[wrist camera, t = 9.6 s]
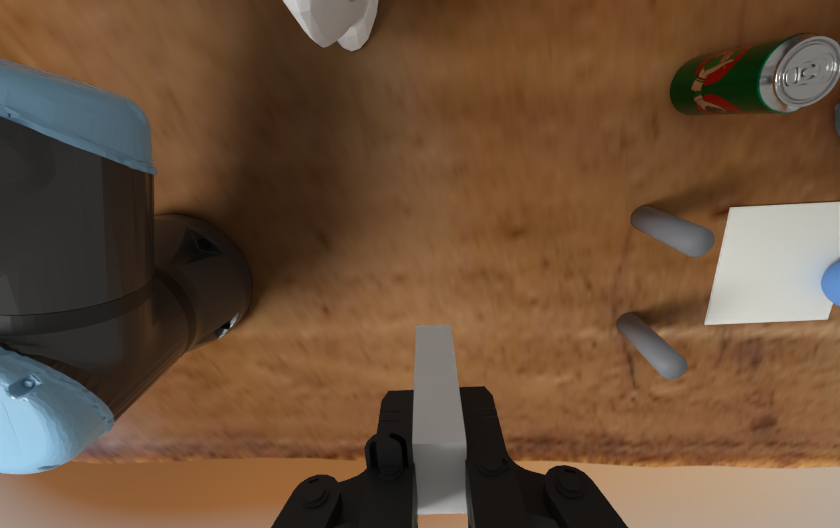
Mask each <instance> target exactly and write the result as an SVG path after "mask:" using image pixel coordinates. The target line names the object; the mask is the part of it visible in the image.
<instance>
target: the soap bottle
mask: <svg viewBox="0 0 840 528" xmlns="http://www.w3.org/2000/svg"><path fill="white" fill-rule="evenodd" d="M378 1H379V0H283V2H284V3H285V4H286V6H287V7H288V9H289V10H290V11H291V13H292V14H293V16H294V17H295V19H296V20H297V21H298V23H299V24H300V26H301V27H302V28H303V30H304V31H305V32H306V33H307V35H308V36H309V37H310V38H311V39H312V40H313V41H315V42H316V43H317V44H318V45H320V46H321V47H323V48H325V47H328V46H330V45H331V44H333V43H334V42H336V41H338V43H339V44H340V45H341V46H342V48H345V49H347V50H349V51H354V50H357V49H360V48H361V47H362V46H363V45H364V43H365V42H366V41H367V40H368V38H369V35H370V32H371V29H372V26H373V24H374V21H375V18H376V15H377V8H378Z"/></svg>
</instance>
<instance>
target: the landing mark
mask: <svg viewBox="0 0 840 528" xmlns="http://www.w3.org/2000/svg"><path fill="white" fill-rule="evenodd" d="M838 262H840V201H839V202H820V203H801V204H782V205H763V206H744V207H730V210H729V214H728V219H727V224H726V228H725V233H724V237H723V242H722V246H721V251H720V255H719V260H718V264H717V269H716V273H715V278H714V282H713V287H712V291H711V296H710V300H709V305H708V309H707V314H706V318H705V323H704V324H705V325H713V324H736V323H758V322H781V321H804V320H826V319H828V317H829V314H830V311H831V308H832V305H833V302H831V301H830V300H829V299H828V298H827V297H826V296H825V294H824V293H823V291H822V287H821V280H822V277H823V275H824V273H825V272H826V270H827V269H829V268H830V267H831V266H832V265H834V264H836V263H838Z"/></svg>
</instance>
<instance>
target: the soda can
mask: <svg viewBox="0 0 840 528" xmlns="http://www.w3.org/2000/svg"><path fill="white" fill-rule="evenodd" d="M839 78H840V45H839V44H838V43H837V42H836V41H835V40H833V39H832V38H829V37H825V36H820V35H818V34H814V33H801V34H796V35H792V36H787V37H783V38H778V39H774V40H770V41H765V42H761V43H757V44H752V45H748V46H744V47H739V48H735V49H731V50H726V51H722V52H718V53H713V54H709V55H705V56H700V57H696V58H694V59H691V60H690V61H688V62H686V63H685V64H684V65H683V66H682V67H681V68H680V69H679V70H678V71H677V73H676V74H675V76H674V78H673V80H672V83H671V87H670V98H671V102H672V104H673V106H674V107H675V108H676V109H677V110H678V111H679V112H681V113H683V114H686V115H717V114H770V113H790V112H794V111H797V110H800V109H802V108H804V107H806V106H808V105H811V104H813V103H816V102H818V101H819V100H821V99H822V98H823V97H825V96H826V95H827V94H828V93H829V92H830V91H831V90H832V89H833V87H834V86H835V85H836V83H837V81H838V80H839Z"/></svg>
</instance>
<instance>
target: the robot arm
mask: <svg viewBox="0 0 840 528" xmlns="http://www.w3.org/2000/svg"><path fill="white" fill-rule="evenodd" d="M155 174H157V170H156V167H155V166H154V165H153V159H152V145H151V131H150V123H149V121H148V118H147V116H146V115H145V113H144V112H143V110H142V109H141V108H140V107H139V106H138V105H137V104H136V103H134V102H133V101H131V100H130V99H128V98H126V97H124V96H122V95H119V94H117V93H114V92H111V91H108V90H105V89H102V88H99V87H96V86H93V85H90V84H86V83H83V82H80V81H76V80H73V79H70V78H66V77H63V76H60V75H56V74H53V73H49V72H46V71H42V70H39V69H35V68H32V67H29V66H25V65H22V64H18V63H15V62H11V61H8V60H4V59H1V58H0V473H8V474H31V473H38V472H42V471H46V470H50V469H54V468H56V467H58V466H60V465H61V464H64V463H66V462H68V461H70V460H72V459H73V458H75V457H76V456H77V455H78V454H80V453H81V452H82V451H83V450H84V449H86V448H87V447H88V446H89V445H90V444H92V443H93V442H94V441H95V440H96V439H98V438H99V437H100V436H102V435H104V434H106V433H107V432H108V431H109V430H110V429H111V428H112V426H113V425H114V424H113V423H114V422H115V421H116V420H117V419H118V418H119V417H120V416H121V415H122V414H123V413H124V412H125V411H126V410H127V409H128V408H129V407H130V406H131V405H132V404H133V403H134V402H135V401H137V400H138V399H139V398H140V397H141V396H142V395H143V394H144V393H145V392H146V391H147V390H148V389H149V388H150V387H151V386H152V385H153V384H154V383H155V382H156V381H157V380H158V379H159V378H160V377H161V376H162V375H163V374H164V373H165V372H166V371H167V370H168V369H169V368H170V367H171V366H172V365H173V364H174V363H175V362H176V361H177V360H178V359H179V358H180V357H181V356H182V355H183V354H184V353H186V352H189V351H191V350H194V349H196V348H199V347H201V346H203V345H206V344H208V343H211V342H213V341H215V340H218V339H219V338H221V337H223V336H224V335H225V334H227V333H228V332H229V331H231V330H232V329H233V328H234V326H235V325H236V324H237V323H238V322H239V321H240V320H241V319H242V318H243V316H244V315H245V313H246V311H247V310H248V307H249V305H250V302H251V297H252V279H251V274H250V271H249V268H248V265H247V263H246V261H245V259H244V257H243V255H242V254H241V252H240V251H239V249H238V248H237V247H236V245H235V244H234V243H233V242H232V241H231V240H230V239H229V238H228V237H227V236H226V235H225V234H223V233H222V232H221V231H219V230H218V229H216V228H215V227H213V226H212V225H210V224H208V223H206V222H204V221H201V220H199V219H196V218H193V217H189V216H185V215H178V214H165V215H158V216H154V175H155ZM364 449H365V457H366V465H367V469H366V470H365V471H364V472H362V473H361V474H359V475H358V476H356V477H353V478H351V479H348V480H345V481H342V482H339V483H338V482H337V481H336V480H335V478H334V477H331V476H329V475H315V476H312V477H309V478H308V479H306V480H304V481H303V482H301V483H300V484H299V485H298V486H297V488H296V489H295V490H294V491H293V493H292V495H291V496H290V498H289V499H288V501H287V503H286V504H285V506H284V507H283V509H282V511H281V512H280V514H279V516H278V517H277V519H276V520H275V522H274V524H273V525H272V527H271V528H418V523H417V519H418V514H452V513H468V528H628V527H627V526H626V524H625V523H624V522H623V520H622V519H621V518H620V516H619V515H618V514H617V512H616V511H615V510H614V508H613V507H612V506H611V504H610V503H609V502H608V500H607V499H606V498H605V496H604V495H603V494H602V493H601V491H600V490H599V489H598V487H597V486H596V485H595V483H594V482H593V481H592V480H591V479H590V478H589V477H588V476H587V475H586V474H585V473H584V472H582V471H580V470H579V469H577V468H574V467H570V466H566V465H563V466H555V467H553V468H551V469H549V470H548V472H547V473H546V475H543V474H540V473H536V472H532V471H529V470H526V469H524V468H522V467H520V466H518V465H517V464H515V462H514V461H512V459H511V458H510V457H509V455H508V453H507V451H506V447H505V443H504V439H503V435H502V431H501V427H500V423H499V419H498V416H497V411H496V409H495V404H494V400H493V396H492V394H491V393H490V392H489V391H488V390H487V389H486V388H485V386H482V387H459V384H458V376H457V369H456V361H455V354H454V347H453V339H452V332H451V325H430V326H416V343H415V373H414V390H402V391H388V393H387V394H386V395H385V397H384V398H383V400H382V402H381V409H380V415H379V423H378V429H377V434H375V435H373V436H372V437H371V438H370V439H369V440H368V441H367V443H366V446H365V448H364Z"/></svg>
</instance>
